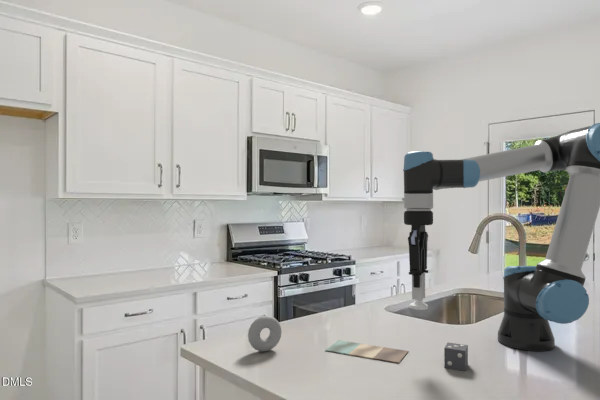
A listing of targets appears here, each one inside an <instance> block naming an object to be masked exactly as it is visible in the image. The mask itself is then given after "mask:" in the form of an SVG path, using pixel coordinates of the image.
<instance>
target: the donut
mask: <svg viewBox="0 0 600 400" xmlns="http://www.w3.org/2000/svg"><path fill="white" fill-rule="evenodd" d="M264 329H268V330H269V335H268V336H267V337H266V338H262V337H261V332H262V331H263V330H264ZM281 337H282V326H281V324H280V322H279V321H278V319H276V318H275V317H273V316H271V315H262V316H260V317H257V318H256V319H254V320H253V322H252V323H251V325H250V327H249V328H248V333H247V338H248V342H249V345H250V346H251V347H252V348H253V349H254V350H255V351H258V352H264V353H265V352H268V351H271V350H272V349H274V348H275V347H276V346H277V345H278V344H279V342H280V340H281Z"/></svg>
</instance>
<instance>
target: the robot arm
mask: <svg viewBox="0 0 600 400" xmlns="http://www.w3.org/2000/svg"><path fill="white" fill-rule="evenodd" d="M403 159H404V160H403V169H402V171H403V195H404V196H403V197H402V198H401V201H402V202H403V208H404V209H406V210H404V212H403V223H404V224H403V225H405V226H410V227H411V228H410V232H409V233H408V234H409V235H408V236H407V237H408V238H407V241H408V242H407V243H408V253H409V254H408V256H409V257H408V259H409V271H408V275H411V300H414V301H415V300H422V301H423V300H424V299H426V274H429V270H428V269H427V268H428V242H429V234H428V232H427V231H426V226H432V225H433V224H434V212H433V211H432V209H434V190H435V191H438V190H443V189H456V188H457V189H459V188H460V189H461V188H463V189H466V188H467V189H468V188H475V187H476V186H477V185H478V184H479V182H483V181H488V180H494V179H500V178H505V177H510V176H515V175H521V174H527V173H530V172H531V173H532V172H537V171H540V172H541V173H549V172H557V171H566V172H567V174H568V175H569V179H568V183H567V185H566V189H565V193H564V195H563V199H562V203H561V206H560V208H559V211H558V212H559V213H558V215H557V218H556V221H555V226H554V229H553V231H552V232H553V233H552V235H551V237H550V241H549V245H548V249H547V252H546V256H545V258H544V259H543V260H542V261H540V262H538V263H536V265H508V266H506V267H505V268H504V270H503V277H502V278H503V279H502V280H503V316H502V319H501V321H500V326H499V328H498V330H497V341H498V342H499V343H500V344H502V345H504V346H507V347H510V348H514V349H519V350H523V351H531V352H532V351H534V352H547V351H551V350H553V349H554V348H555V345H556V343H555V342H556V341H555V336H554V333H553V331H552V328H551V325H550V323H549V322H553V323H557V324H565V325H566V324H571V323H573V322H575V321H578V320H579V319H581V318H582V317H583V316H584V315H585V314H586V312H587V310H588V307H589V305H590V297H589V294H588V292H587V289H586V288H585V286H584V285H585V282H586V276H585V275H584V273H583V271H582V267H583V265H584V261H585V257H586V255H587V253H588V251H587V250H588V249H589V244H590V241H591V238H592V234H593V231H594V228H595V224H596V221H597V218H598V214H599V212H600V122H596V123H594V124H592V125H589V126H584V127H580V128H577V129H576V128H575V129H573V130H572V129H571V130H569V131H566V132H564V133H561V134H558V135H556V136H553V137H549V138H546V139H541V140H537V141H536V142H535V143H534V144H533V145H527V146H524V147H523V146H522V147H518V148H511V149H506V150H502V151H497V152H492V153H491V152H490V153H487V154H481V155H477V156H472V157H466V158H460V159H435V158H434V154H433V153H432V151H424V150H423V151H419V150H417V151H409V152H407V153H406V154H405V155H404V157H403Z"/></svg>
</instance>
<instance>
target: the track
mask: <svg viewBox="0 0 600 400" xmlns="http://www.w3.org/2000/svg"><path fill="white" fill-rule="evenodd" d="M325 352H329V353H335V354H342V355H347V356H352V357H357V358H358V357H360V358H364V359H369V360H377V361H381V362H388V363H394V364H400V363H401V362H402V361H403V359H404V358H405V357H406V355H408V353H409V350H406V349H405V350H404V349H398V348H391V347H387V346H386V347H385V346H380V345H371V344H366V343H359V342H353V341H347V340H340V339H339V340H337V341H336V342H334V343H332V345H330V346H329V347H327V348H326V349H325Z"/></svg>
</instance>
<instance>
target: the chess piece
mask: <svg viewBox="0 0 600 400" xmlns="http://www.w3.org/2000/svg"><path fill="white" fill-rule="evenodd" d="M413 301H414V302H411V303H409V305H408V308H409V309H411V310H416V311H423V310H425V311H426V310H428V309H429V304H427V303H424V301H423V300H415V299H414V300H413Z"/></svg>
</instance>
